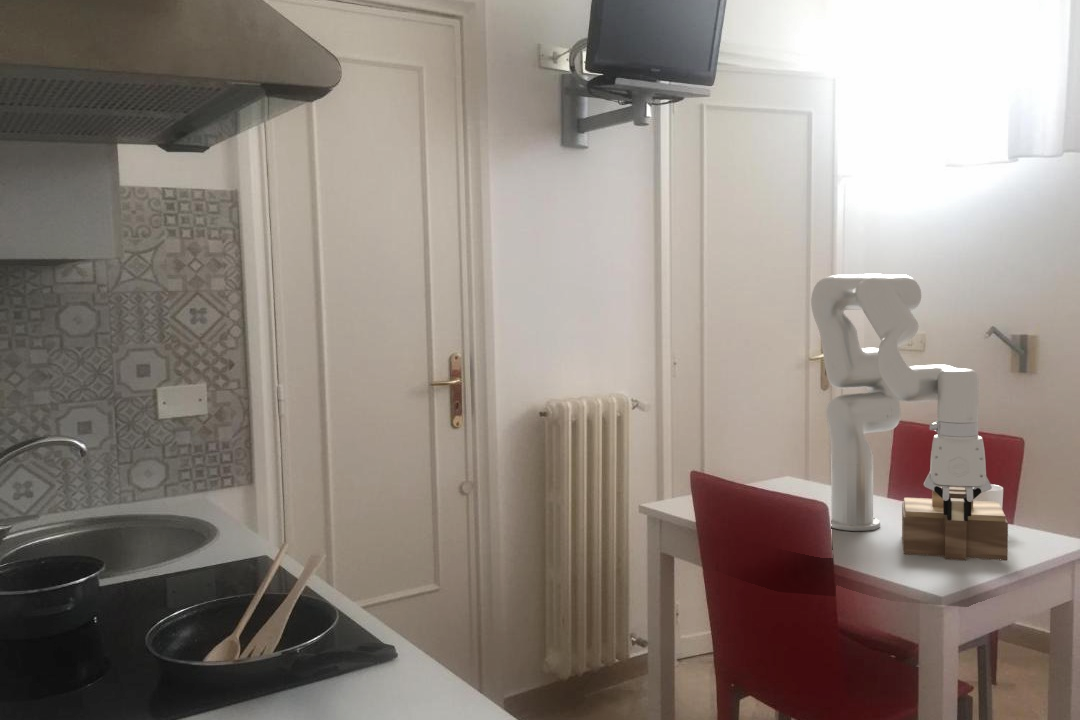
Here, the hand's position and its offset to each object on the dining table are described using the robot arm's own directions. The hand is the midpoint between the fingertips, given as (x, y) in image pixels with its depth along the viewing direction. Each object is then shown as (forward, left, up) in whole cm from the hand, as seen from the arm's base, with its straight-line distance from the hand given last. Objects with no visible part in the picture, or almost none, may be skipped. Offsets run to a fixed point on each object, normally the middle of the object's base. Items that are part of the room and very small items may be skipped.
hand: (957, 518), depth 189 cm
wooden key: (-3, 0, 0) cm, 3 cm away
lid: (-13, 0, -3) cm, 13 cm away
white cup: (-31, +8, -10) cm, 33 cm away
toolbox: (-13, 0, -10) cm, 16 cm away
